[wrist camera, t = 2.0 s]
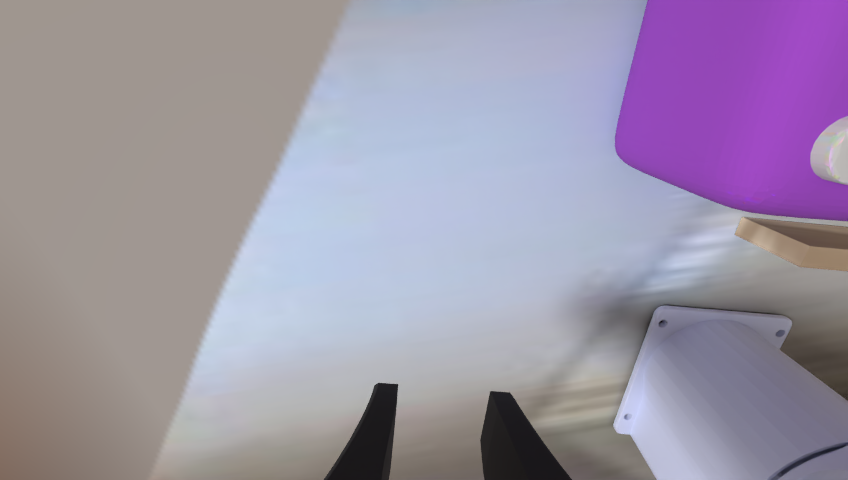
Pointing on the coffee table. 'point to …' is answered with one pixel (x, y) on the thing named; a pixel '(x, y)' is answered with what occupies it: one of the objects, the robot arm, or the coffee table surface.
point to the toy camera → (743, 103)
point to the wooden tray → (799, 242)
